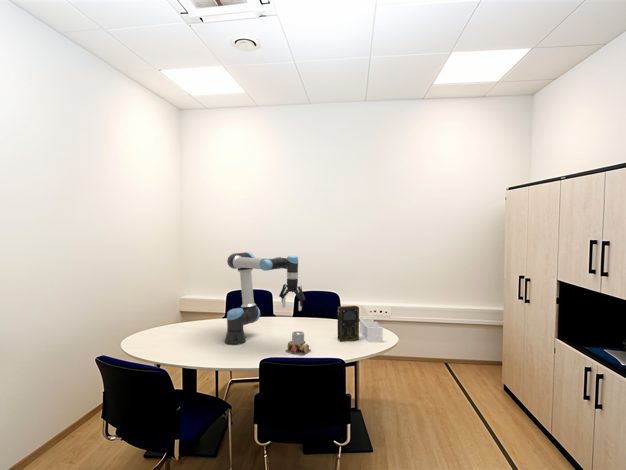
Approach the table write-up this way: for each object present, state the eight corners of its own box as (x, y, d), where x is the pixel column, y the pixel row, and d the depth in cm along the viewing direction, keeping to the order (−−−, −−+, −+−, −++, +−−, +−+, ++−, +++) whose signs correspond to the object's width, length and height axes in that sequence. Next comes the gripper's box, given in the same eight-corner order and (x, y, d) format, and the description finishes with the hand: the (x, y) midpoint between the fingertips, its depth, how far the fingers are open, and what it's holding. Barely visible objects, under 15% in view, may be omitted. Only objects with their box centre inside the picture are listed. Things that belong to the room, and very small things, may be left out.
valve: (284, 352, 233) (284, 333, 233) (293, 347, 242) (293, 329, 242) (302, 356, 226) (302, 337, 226) (310, 350, 235) (310, 332, 235)
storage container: (359, 332, 277) (359, 318, 277) (373, 332, 278) (373, 318, 278) (367, 342, 252) (367, 327, 252) (382, 342, 254) (382, 327, 253)
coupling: (296, 339, 240) (296, 330, 240) (306, 341, 236) (306, 332, 236) (289, 342, 233) (289, 333, 233) (299, 344, 229) (299, 335, 229)
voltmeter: (340, 342, 252) (340, 308, 252) (336, 338, 261) (336, 305, 260) (360, 340, 256) (360, 307, 256) (355, 337, 265) (355, 304, 264)
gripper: (274, 277, 241) (274, 307, 242) (304, 280, 229) (304, 312, 229) (280, 275, 248) (280, 305, 249) (310, 279, 235) (310, 310, 236)
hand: (291, 308), depth 239 cm, fingers open, 13 cm apart
